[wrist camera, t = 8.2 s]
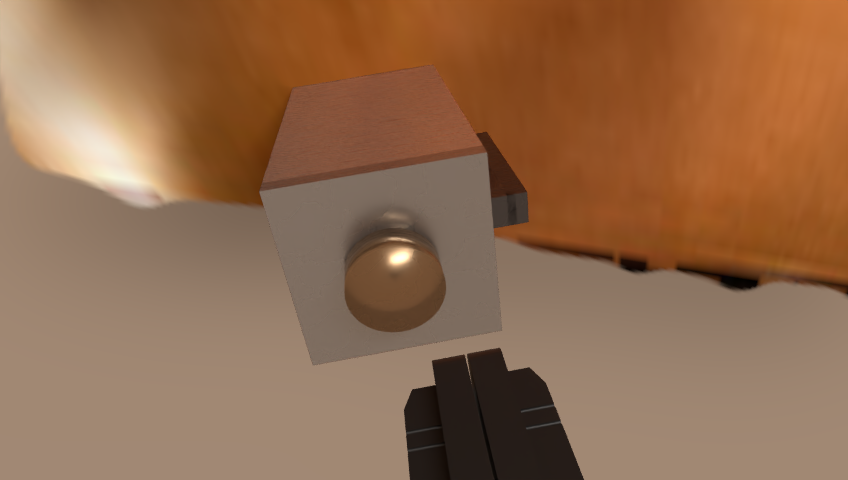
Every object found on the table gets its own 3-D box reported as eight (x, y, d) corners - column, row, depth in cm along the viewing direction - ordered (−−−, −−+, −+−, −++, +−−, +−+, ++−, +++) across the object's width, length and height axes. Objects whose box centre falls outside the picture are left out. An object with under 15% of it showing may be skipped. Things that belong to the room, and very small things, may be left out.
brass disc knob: (421, 88, 43) (471, 200, 26) (434, 187, 48) (486, 342, 30) (312, 106, 43) (289, 232, 26) (335, 204, 47) (329, 371, 30)
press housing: (469, 58, 44) (546, 142, 27) (481, 186, 50) (551, 321, 33) (292, 87, 44) (259, 191, 27) (324, 213, 49) (313, 365, 32)
